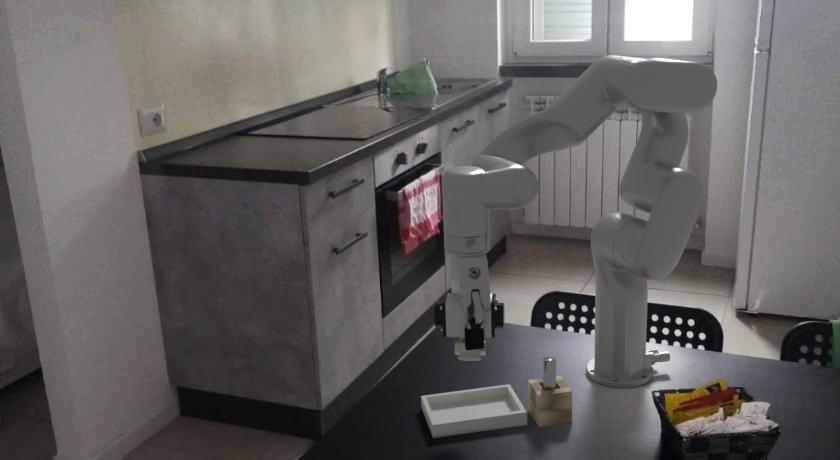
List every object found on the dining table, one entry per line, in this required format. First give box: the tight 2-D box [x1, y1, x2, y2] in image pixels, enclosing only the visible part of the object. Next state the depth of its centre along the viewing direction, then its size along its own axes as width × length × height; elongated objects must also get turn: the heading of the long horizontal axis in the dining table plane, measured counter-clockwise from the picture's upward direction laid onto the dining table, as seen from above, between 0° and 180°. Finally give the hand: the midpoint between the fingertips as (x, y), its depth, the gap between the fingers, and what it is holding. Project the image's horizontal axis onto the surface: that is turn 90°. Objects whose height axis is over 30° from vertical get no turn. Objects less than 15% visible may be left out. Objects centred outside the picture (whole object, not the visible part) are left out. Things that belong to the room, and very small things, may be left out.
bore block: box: [527, 375, 573, 428], centre depth 151 cm, size 6×6×6 cm
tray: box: [420, 383, 528, 439], centre depth 153 cm, size 17×11×2 cm, turn 100°
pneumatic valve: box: [433, 292, 506, 362], centre depth 148 cm, size 6×12×12 cm, turn 82°
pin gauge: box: [542, 356, 557, 391], centre depth 150 cm, size 2×2×11 cm
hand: (470, 340), depth 149 cm, fingers closed on pneumatic valve, 5 cm apart
